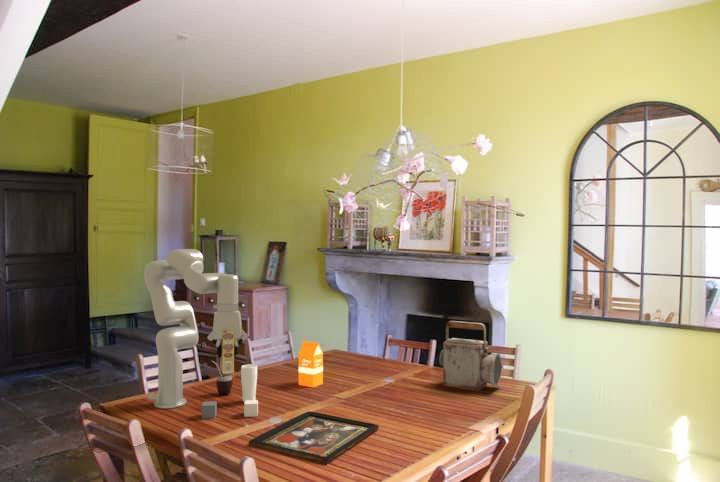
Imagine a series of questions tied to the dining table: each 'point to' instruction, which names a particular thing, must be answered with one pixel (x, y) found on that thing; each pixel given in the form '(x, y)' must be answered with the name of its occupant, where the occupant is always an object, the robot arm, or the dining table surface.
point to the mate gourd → (223, 383)
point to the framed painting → (314, 436)
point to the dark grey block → (209, 409)
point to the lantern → (469, 360)
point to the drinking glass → (249, 381)
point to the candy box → (227, 352)
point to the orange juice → (310, 364)
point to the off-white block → (250, 408)
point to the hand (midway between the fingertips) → (227, 356)
